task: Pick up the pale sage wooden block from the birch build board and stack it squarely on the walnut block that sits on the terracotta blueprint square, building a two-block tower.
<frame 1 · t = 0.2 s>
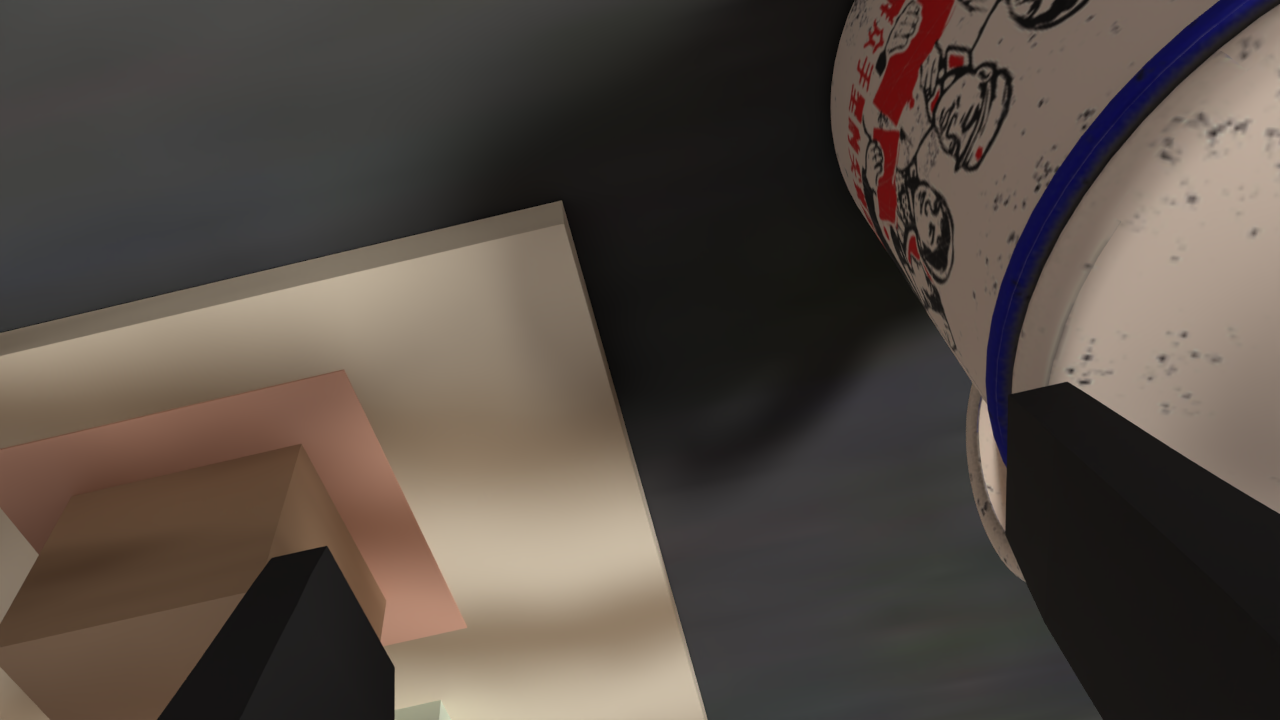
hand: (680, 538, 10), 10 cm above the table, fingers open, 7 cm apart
build board: (317, 629, 25), on the table
walnut block: (238, 551, 22), point 1 cm above the table, touching build board
teacup with lid: (1016, 135, 19), on the table
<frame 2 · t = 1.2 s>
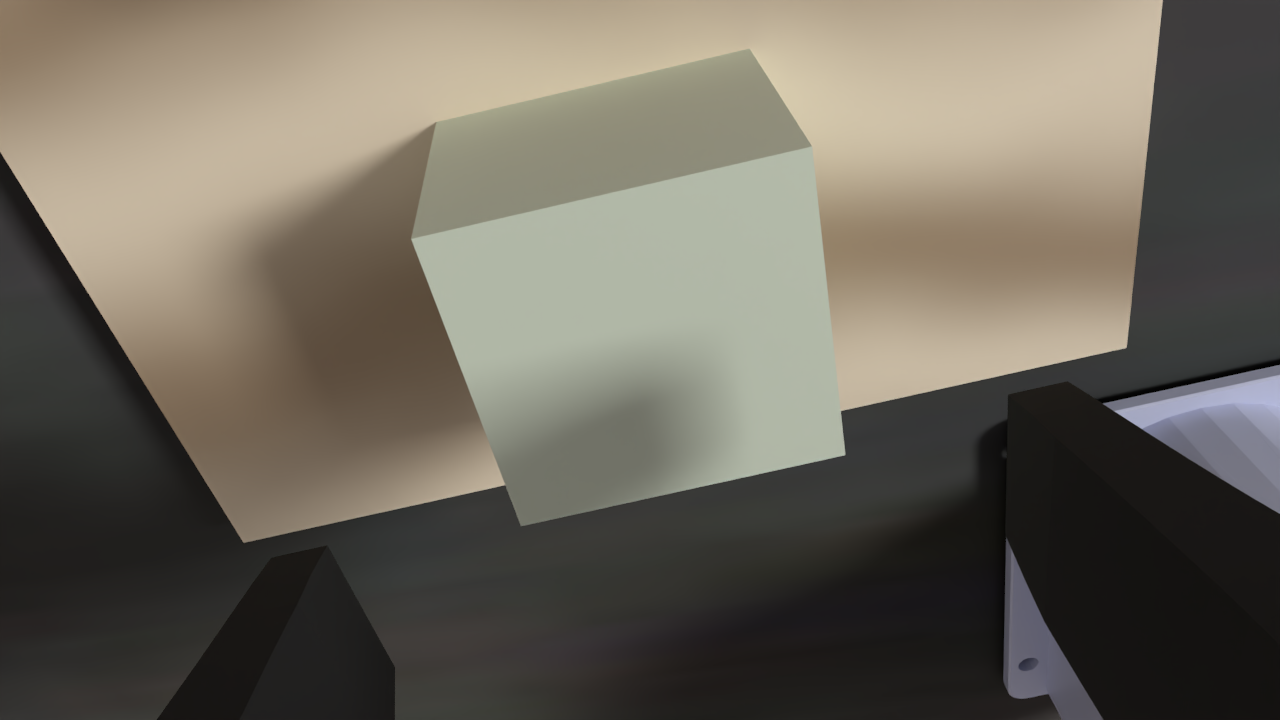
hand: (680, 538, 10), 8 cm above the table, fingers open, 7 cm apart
sage block: (625, 226, 16), point 1 cm above the table, touching build board
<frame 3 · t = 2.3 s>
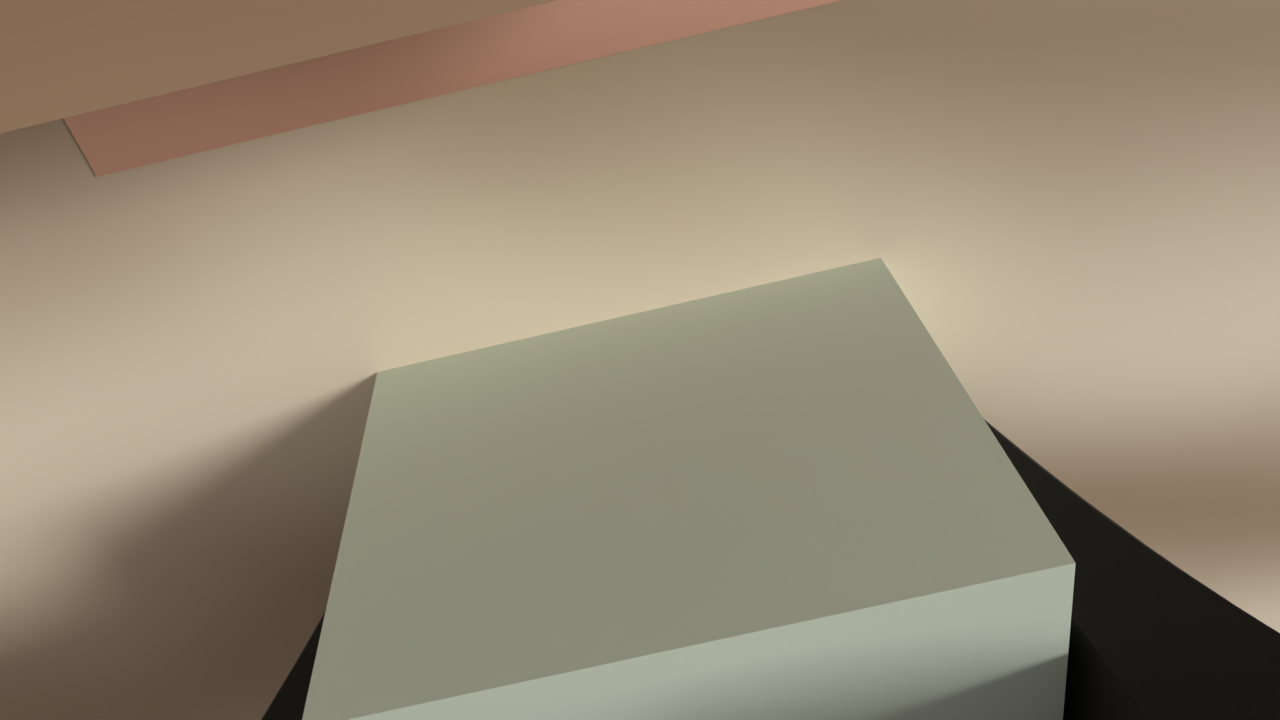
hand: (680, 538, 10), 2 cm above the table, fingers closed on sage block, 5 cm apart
build board: (560, 30, 9), on the table
sage block: (673, 500, 11), point 1 cm above the table, touching build board, gripper
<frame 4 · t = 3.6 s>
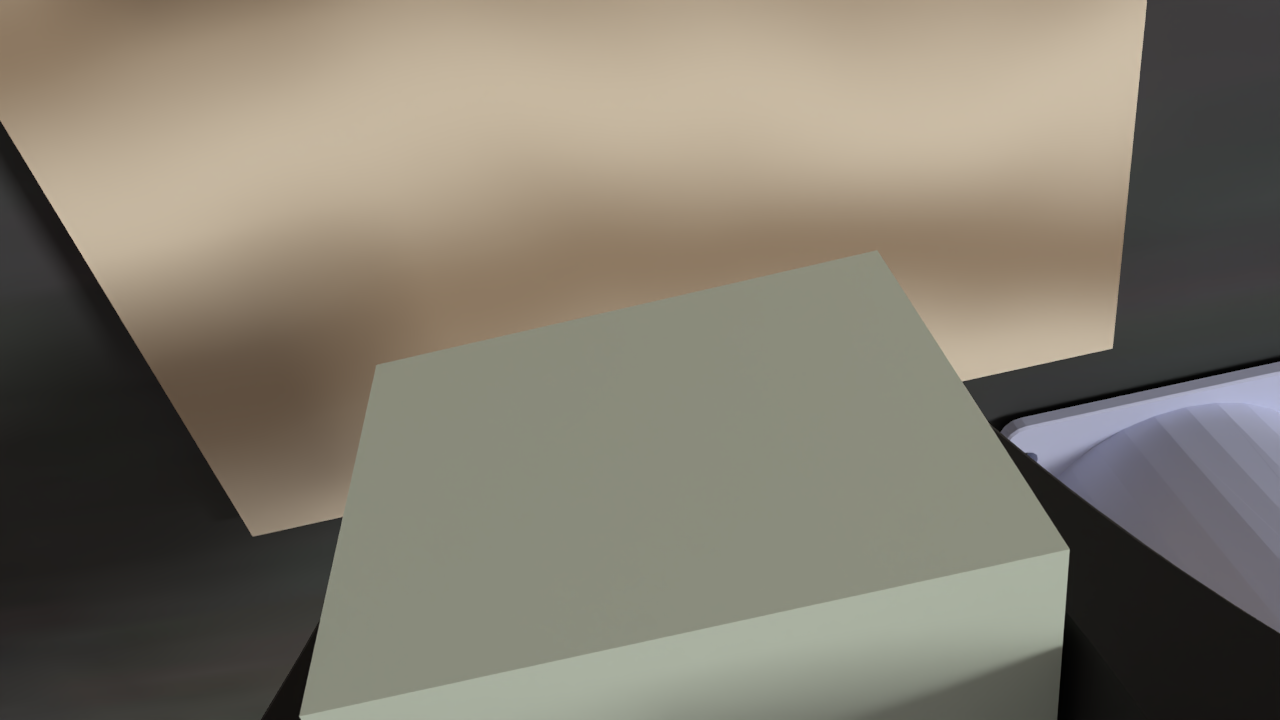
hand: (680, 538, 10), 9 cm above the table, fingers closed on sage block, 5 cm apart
sage block: (671, 493, 11), point 8 cm above the table, touching gripper
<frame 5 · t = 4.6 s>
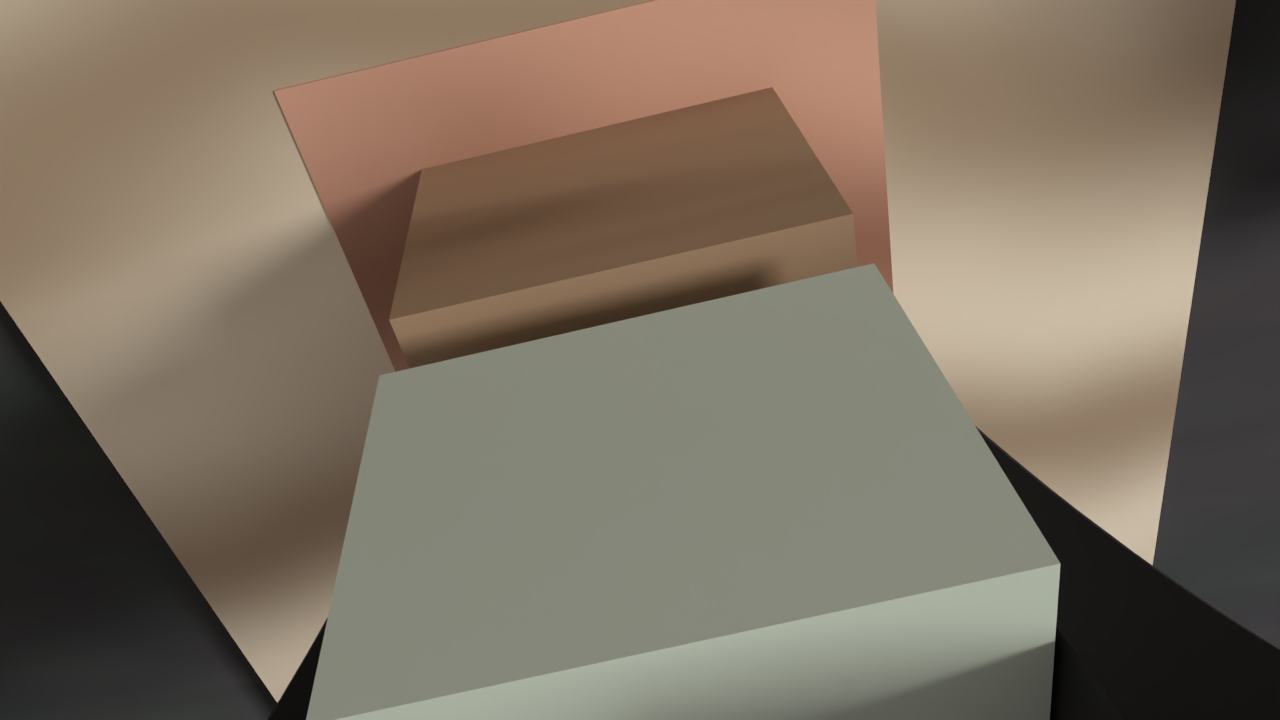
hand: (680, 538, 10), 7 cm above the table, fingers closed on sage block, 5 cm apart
build board: (671, 434, 18), on the table
walnut block: (632, 280, 15), point 1 cm above the table, touching build board
sage block: (670, 501, 11), point 6 cm above the table, touching gripper
when the fingers open (7 cm above the table, at t = 5.0 s): sage block stays where it is, resting on walnut block.
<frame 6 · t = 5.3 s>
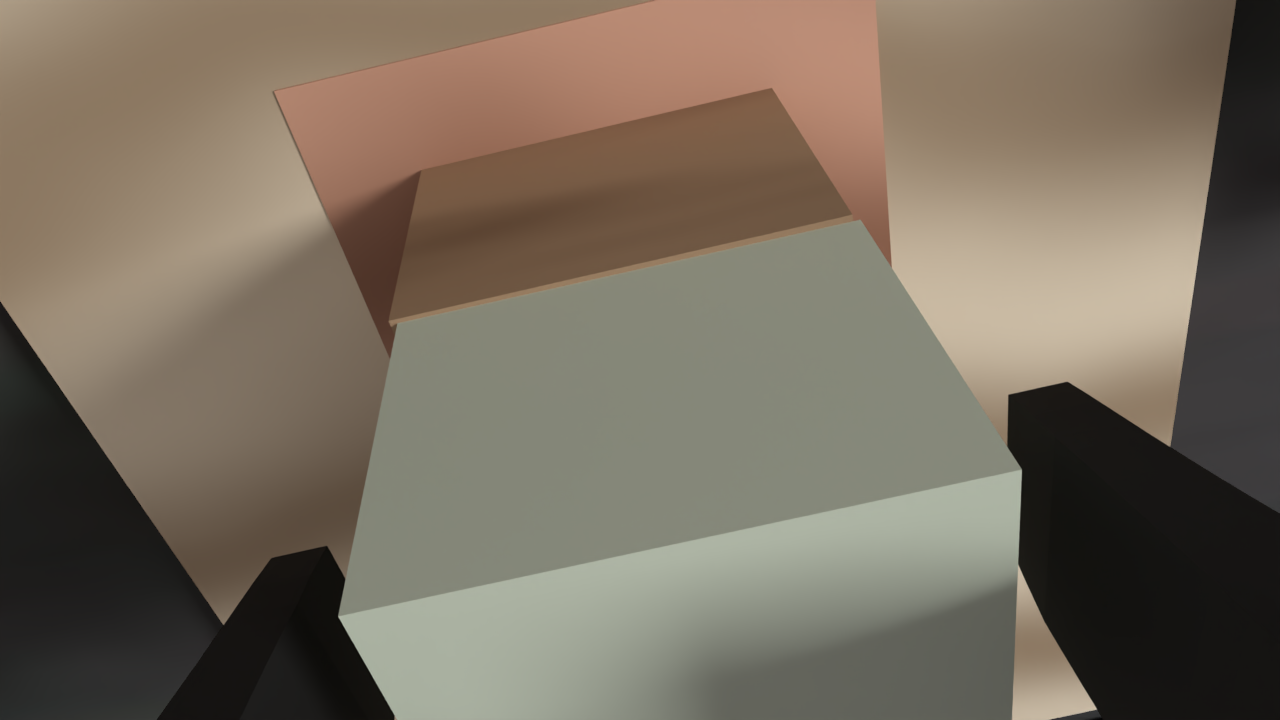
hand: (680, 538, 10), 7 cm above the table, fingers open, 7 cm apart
build board: (671, 435, 18), on the table
walnut block: (632, 281, 15), point 1 cm above the table, touching build board, sage block
sage block: (669, 449, 12), point 5 cm above the table, touching walnut block
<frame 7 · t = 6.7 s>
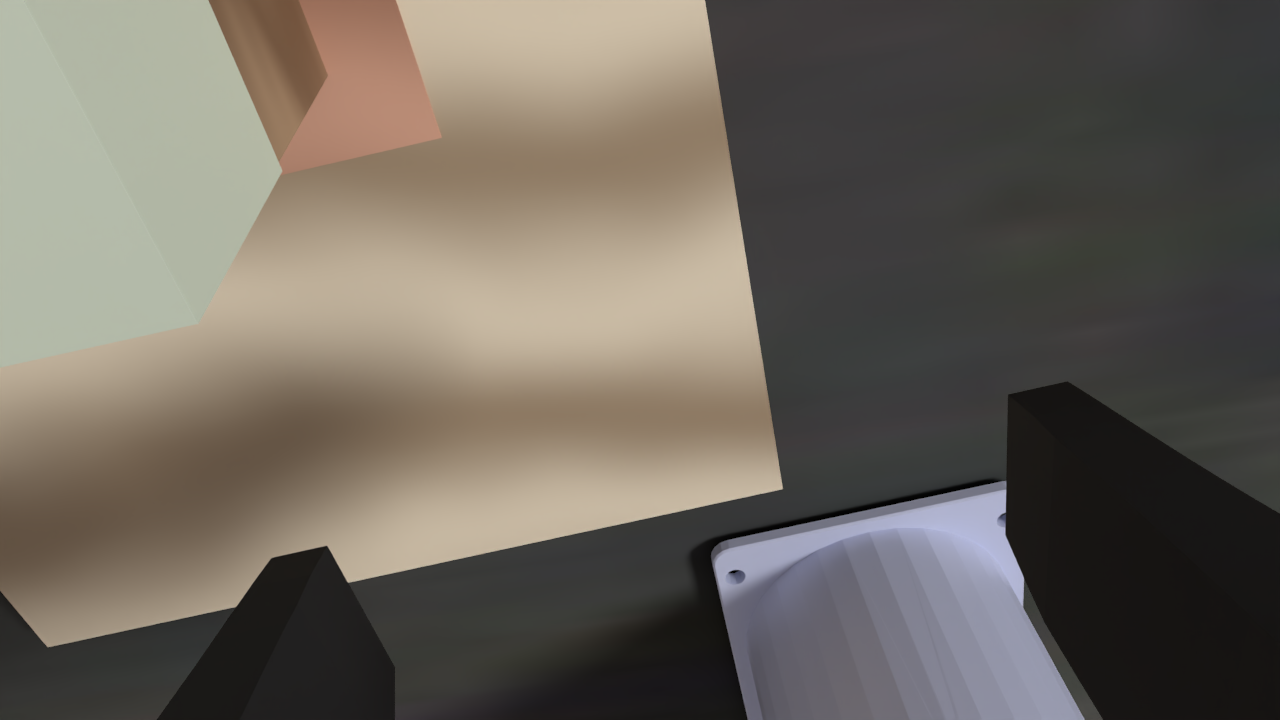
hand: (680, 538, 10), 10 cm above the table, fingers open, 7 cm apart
build board: (239, 165, 18), on the table
sage block: (4, 28, 12), point 5 cm above the table, touching walnut block
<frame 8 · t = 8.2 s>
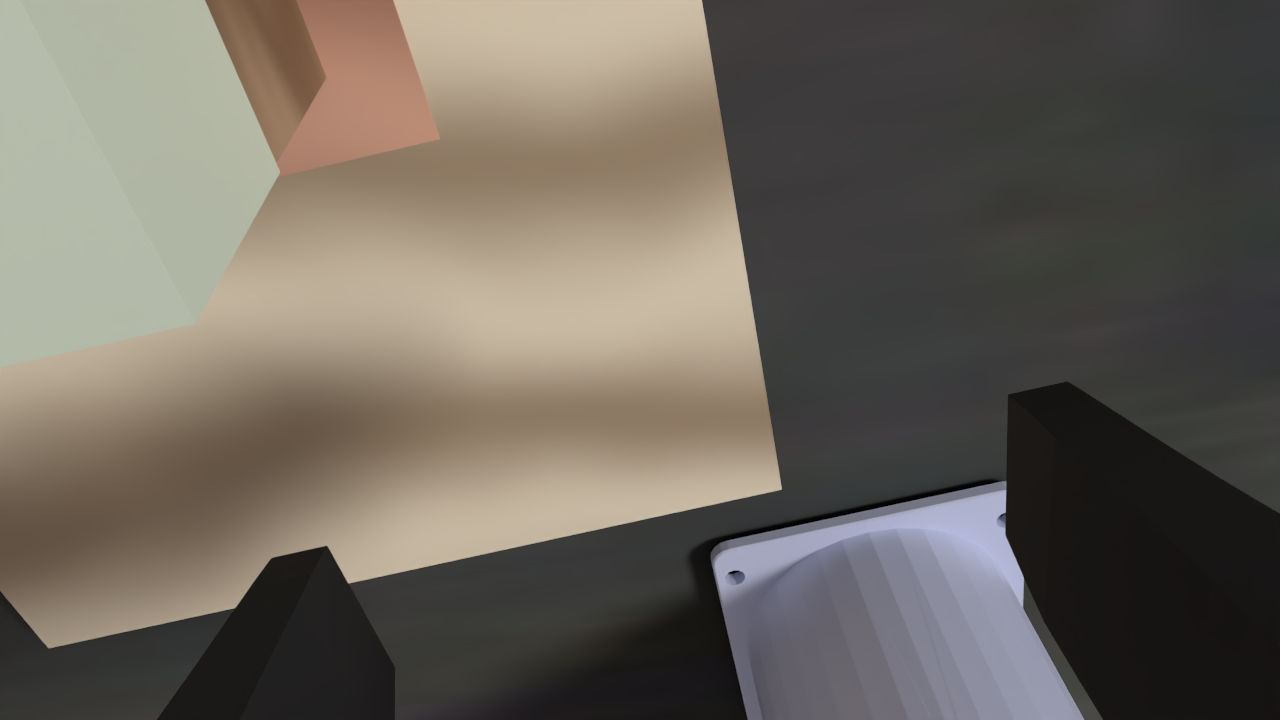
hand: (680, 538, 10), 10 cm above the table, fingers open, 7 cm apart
build board: (239, 167, 18), on the table
sage block: (2, 30, 12), point 5 cm above the table, touching walnut block
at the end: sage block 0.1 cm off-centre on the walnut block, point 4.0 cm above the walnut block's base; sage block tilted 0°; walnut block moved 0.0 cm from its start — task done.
